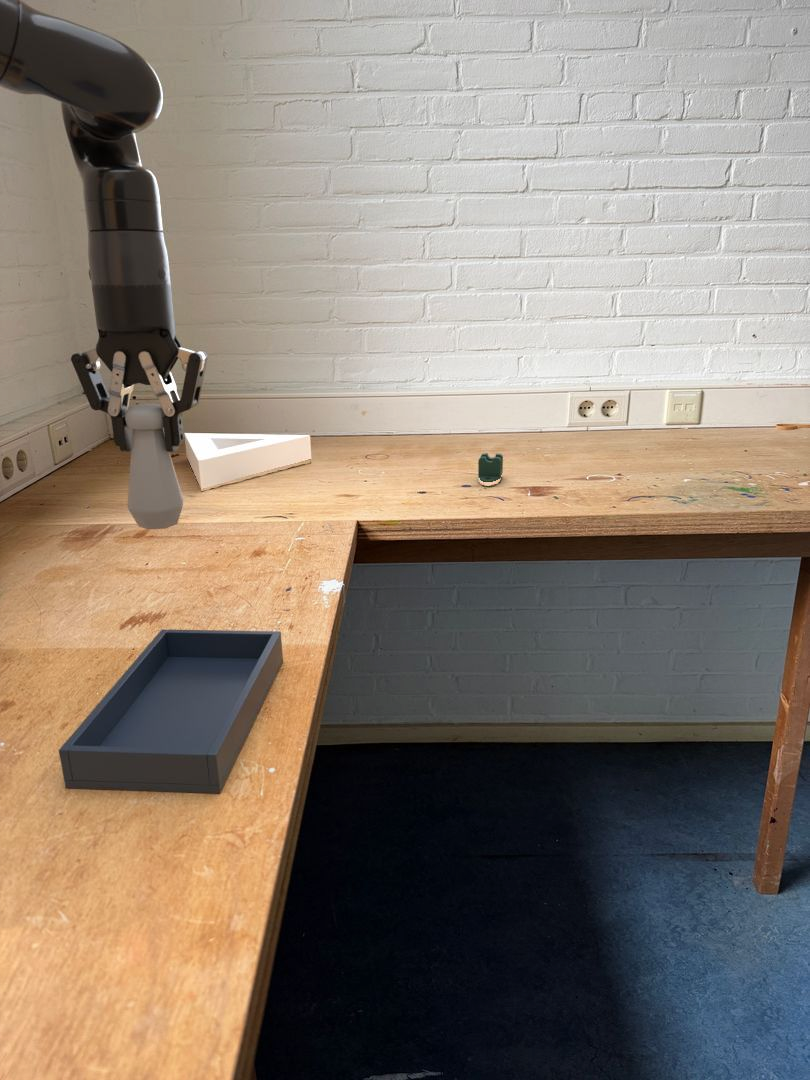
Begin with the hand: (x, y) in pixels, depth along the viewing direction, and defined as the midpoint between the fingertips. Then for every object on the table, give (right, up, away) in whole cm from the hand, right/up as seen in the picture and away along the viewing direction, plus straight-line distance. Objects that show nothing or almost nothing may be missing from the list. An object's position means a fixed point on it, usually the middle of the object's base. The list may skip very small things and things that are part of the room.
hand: (150, 449), depth 85 cm
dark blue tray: (+6, -27, -6) cm, 28 cm away
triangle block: (-11, +4, +86) cm, 87 cm away
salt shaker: (0, -8, +3) cm, 8 cm away
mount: (+45, +2, +78) cm, 90 cm away
